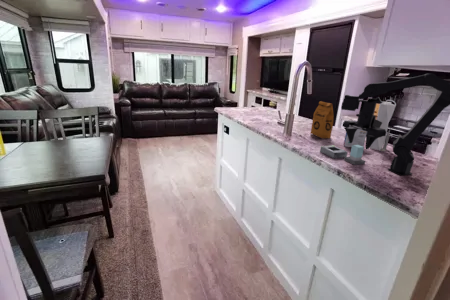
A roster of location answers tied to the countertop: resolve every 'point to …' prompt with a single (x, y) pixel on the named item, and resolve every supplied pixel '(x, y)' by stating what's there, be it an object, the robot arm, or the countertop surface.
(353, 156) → the plug
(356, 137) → the ink cartridge box
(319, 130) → the coffee package
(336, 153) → the socket
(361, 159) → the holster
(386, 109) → the skyscraper
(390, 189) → the countertop surface
